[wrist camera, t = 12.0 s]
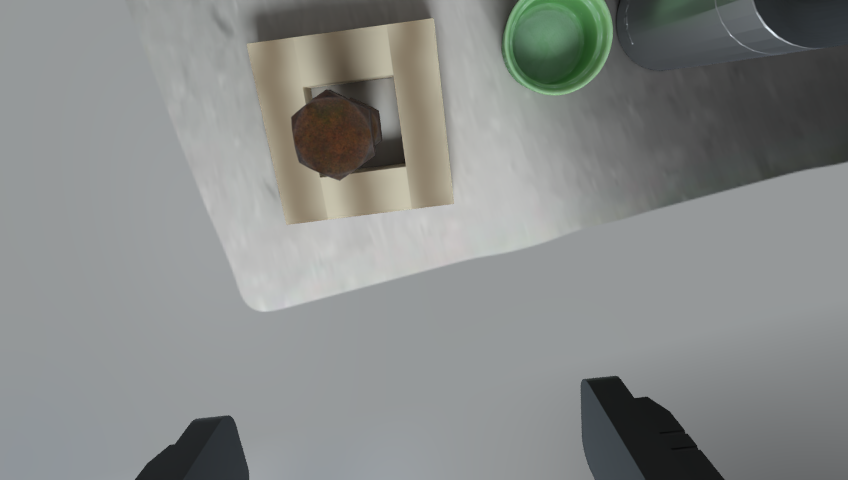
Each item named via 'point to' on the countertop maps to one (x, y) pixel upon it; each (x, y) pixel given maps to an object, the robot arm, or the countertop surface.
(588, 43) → the ramekin
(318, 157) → the bolt
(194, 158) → the countertop surface
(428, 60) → the frame
